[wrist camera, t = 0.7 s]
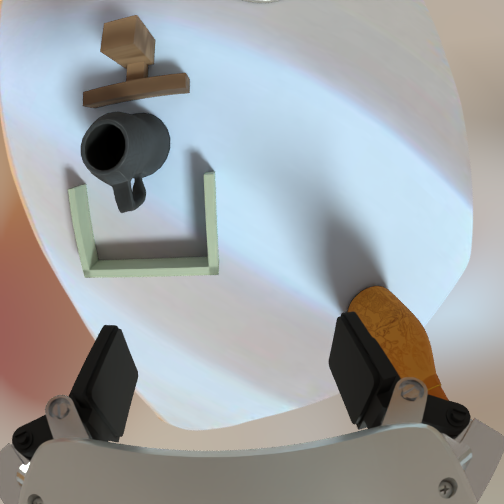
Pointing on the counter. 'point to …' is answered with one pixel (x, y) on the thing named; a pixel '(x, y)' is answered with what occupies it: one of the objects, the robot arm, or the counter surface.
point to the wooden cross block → (133, 66)
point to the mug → (125, 153)
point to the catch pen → (143, 266)
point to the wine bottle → (398, 335)
